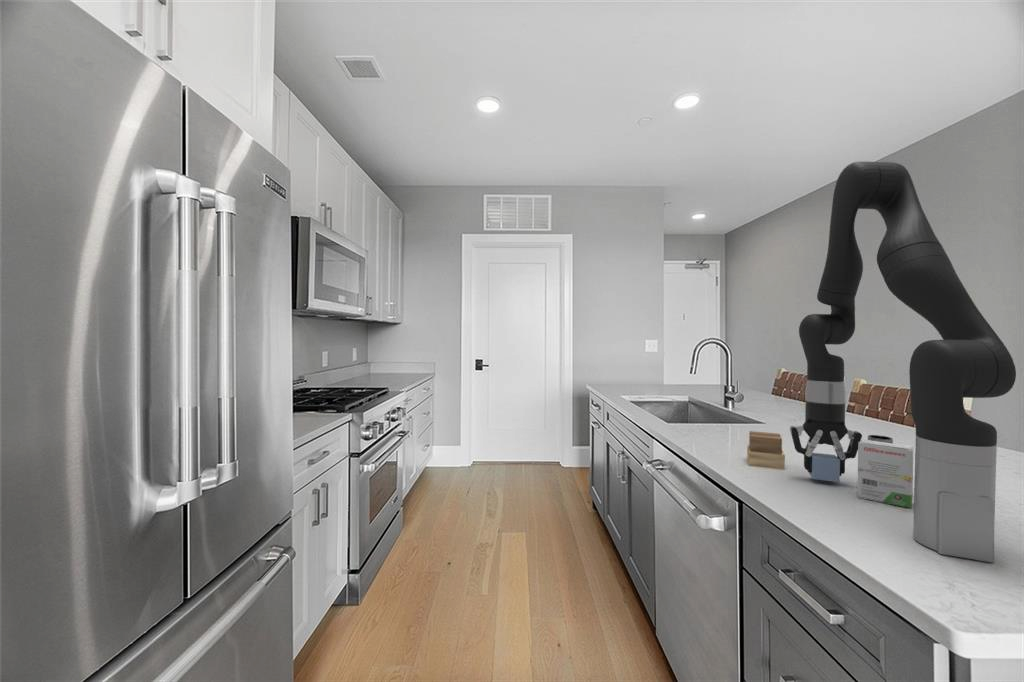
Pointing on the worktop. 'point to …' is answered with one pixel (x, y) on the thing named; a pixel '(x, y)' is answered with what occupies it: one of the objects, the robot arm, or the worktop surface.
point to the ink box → (885, 472)
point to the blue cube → (825, 467)
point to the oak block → (766, 459)
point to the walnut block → (765, 442)
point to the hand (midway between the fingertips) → (824, 473)
